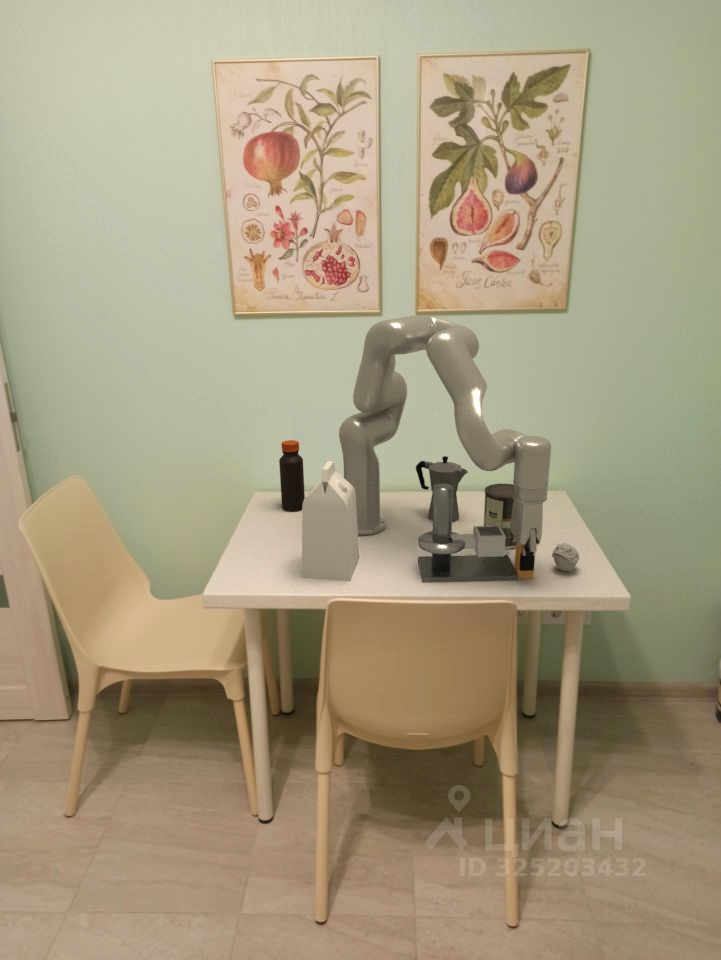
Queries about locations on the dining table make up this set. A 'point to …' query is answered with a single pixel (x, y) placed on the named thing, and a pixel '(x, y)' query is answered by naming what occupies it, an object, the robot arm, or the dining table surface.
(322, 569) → the milk
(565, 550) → the plaster head sculpture
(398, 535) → the dining table surface
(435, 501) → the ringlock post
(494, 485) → the coffee can
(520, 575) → the orange rectangular block
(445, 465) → the coffeepot
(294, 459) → the vinegar
